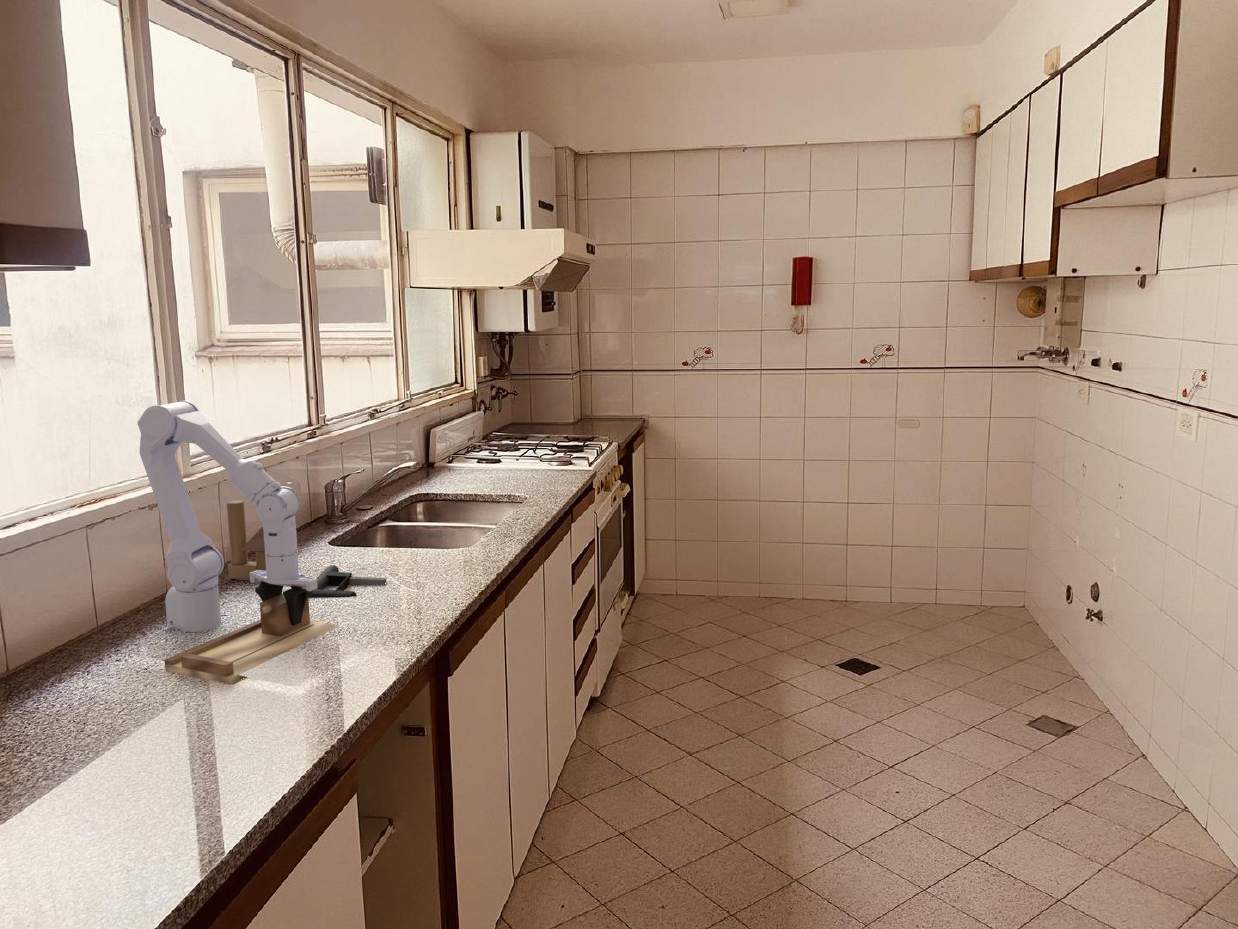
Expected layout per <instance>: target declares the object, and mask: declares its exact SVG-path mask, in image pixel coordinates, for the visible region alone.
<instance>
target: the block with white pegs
mask: <svg viewBox="0 0 1238 929" xmlns="http://www.w3.org/2000/svg"><path fill="white" fill-rule="evenodd" d="M309 600H310V598H309V597H308V599H307V601H306V604H305V607H304V611H303V615H302V620H301V623H299V624H297V625H295V626H292V625H291V623H290V619H289V610H288V605H287V602H286V599H285V597H284V595H283V593H282V594H280V595H278V596H275V597H273V598H270V599H268V600H265V601H263V602H262V601H260V602H259V611H260V619H261V629H262V634H268V635H274V636H279V637H281V636H283V635H285V634H287V633H289V632H291V631H294V630H296V629H298V628H300V627H302V626H305V625H307V624H309V623H310V621H311V615H310V602H309Z"/></svg>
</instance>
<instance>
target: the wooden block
mask: <svg viewBox="0 0 1238 929" xmlns="http://www.w3.org/2000/svg"><path fill="white" fill-rule="evenodd" d="M226 511H227V512H226V515H227V525H228V537H229V549H230V550H229V551H230V563H228V564H227V573H228V580H231V579H236V580H235V581H249V582H250V572H253V571H256V570H262V571H266V560H265V544H264V530H263V525H262V526H261V527H260V528H259V530H257V532H255V534H254V535H253V536H252V537H251V538H250V539H249V540H248V541H247V528H246V527H247V526H246V515H245V514H246V512H245V501H243V500H238V499H237V500H235V499H234V500H230V501H227V502H226ZM250 551H251V552H255V561H249V557H248V552H250Z"/></svg>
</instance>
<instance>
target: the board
mask: <svg viewBox="0 0 1238 929" xmlns="http://www.w3.org/2000/svg"><path fill="white" fill-rule="evenodd" d="M339 627H340V625H338V624H333V623H326V622H320V621H314V620H310V623H309V624H307V625H305V626H302V627H300V628H298V629H296V630H294V631H291V632H289V633H287V634H285V635H283V636H281V637H279V636H274V635H268V634H262V629H261V618H260V619H258V620H256V621H253V622H251V623H249V624H246V625H244V626H241V627H239V628H236V629H234V630H231V631H229V632H227V633H225V634H223V635H220V636H217V637H215V638H212V639H211V640H208V641H206V642H203V643H200V644H198V645H196V646H194V647H191V648H189V649H187V650H184V651H182V652H180V653H177V654H175V655H172V656H170V657H168V658H165V659H164V668H165V669H164V670H165V671H166V672H169V673H173V674H174V673H175V674H179V675H184V676H188V675H189V677H193V678H194V677H195V678H197V679H198V678H199V679H202V680H207V681H212V682H217V681H219V682H218V683H221V682H224V683H223V684H226V683H228V685H231V684H232V685H234V684H236V683H238V682H240V681H242V680H244V679H246V678H245V677H246V676H245V675H241V674H243V673H245V672H247V671H249V670H251V669H253V668H256V667H257V666H259V665H261V664H263V663H266V662H268V661H270V660H272V659H274V658H277V657H278V656H280V655H282V654H284V653H287V652H289V651H290V650H293V649H295V648H297V647H299V646H301V645H303V644H305V643H307V642H310V641H311V640H315V638H317V637H320V636H322V635H324V634H326V633H328V632H330V631H332V630H335V629H336V628H337V629H338V628H339ZM203 678H204V679H203ZM243 678H244V679H243ZM241 679H242V680H241ZM237 681H238V682H237ZM235 682H236V683H235ZM233 683H234V684H233Z"/></svg>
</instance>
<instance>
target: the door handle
mask: <svg viewBox="0 0 1238 929" xmlns="http://www.w3.org/2000/svg"><path fill="white" fill-rule="evenodd" d="M315 578H316V579H317V589H315V590H312V591H311V593H310V594H309V596H308V597H309V599H317V598H318V599H319V598H320V599H321V598H322V599H323V598H324V599H325V598H326V599H327V598H328V599H329V598H333V599H334V598H337V599H338V598H352V597H354V598H355V597H357V596H358V595H357V593H356V591H354V590H345V589H348V588H349V586H385V585H386V584H387V578H386V577H373V576H353V572H343V571H341V572H340V570H339V567H338V566H337V565H335V564H332V565H329V566H327V567H326V568H325V569H324V570H323V571H321V572H320V574H319V575H317V577H315ZM385 583H386V584H385ZM381 584H382V585H381ZM383 584H384V585H383ZM328 587H337V588H336V589H327V588H328ZM344 590H345V591H344Z"/></svg>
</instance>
